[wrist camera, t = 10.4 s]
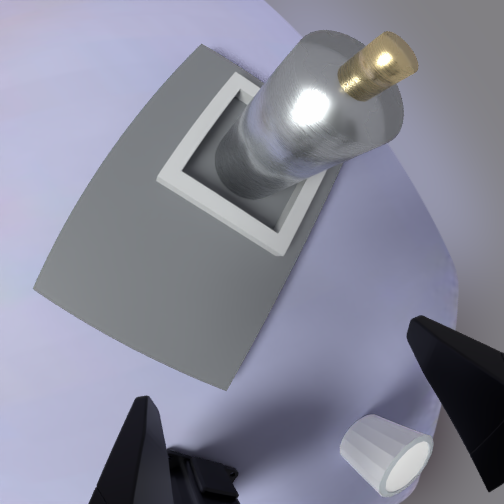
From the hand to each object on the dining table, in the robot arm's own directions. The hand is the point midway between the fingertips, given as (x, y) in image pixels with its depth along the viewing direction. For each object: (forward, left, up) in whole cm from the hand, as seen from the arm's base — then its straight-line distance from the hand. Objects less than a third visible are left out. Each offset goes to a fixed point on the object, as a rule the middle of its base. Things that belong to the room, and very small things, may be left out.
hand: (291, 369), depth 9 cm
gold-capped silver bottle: (+10, +2, -11) cm, 14 cm away
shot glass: (-5, -21, -12) cm, 25 cm away
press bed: (+6, +3, -12) cm, 14 cm away
